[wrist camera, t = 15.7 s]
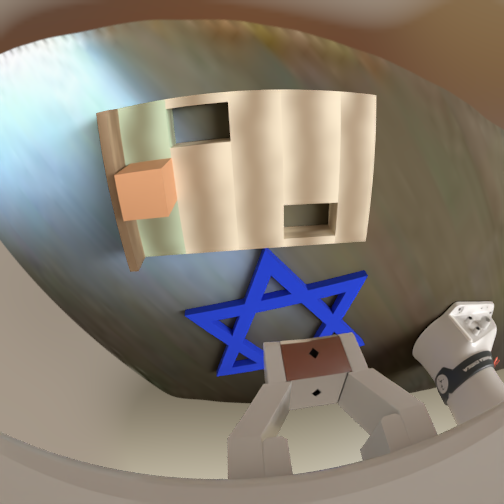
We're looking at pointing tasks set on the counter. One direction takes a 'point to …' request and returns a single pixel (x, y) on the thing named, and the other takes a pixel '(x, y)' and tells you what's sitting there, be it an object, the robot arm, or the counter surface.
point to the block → (146, 189)
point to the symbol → (261, 302)
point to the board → (248, 170)
